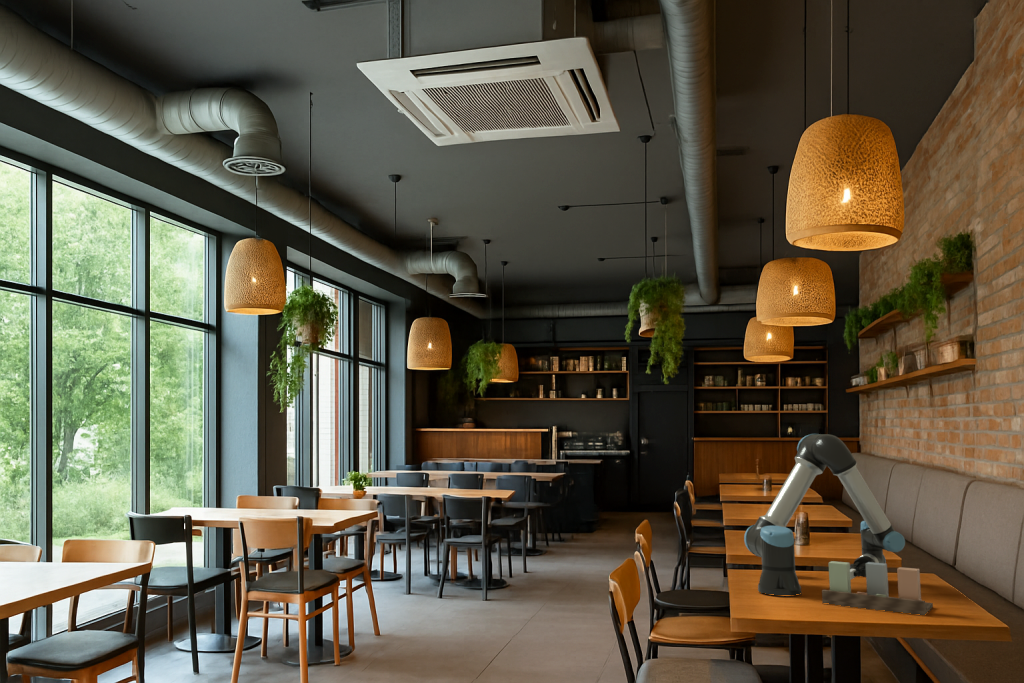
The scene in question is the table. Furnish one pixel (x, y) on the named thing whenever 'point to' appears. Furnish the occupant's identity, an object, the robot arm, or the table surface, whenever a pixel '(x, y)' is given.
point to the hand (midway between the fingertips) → (848, 575)
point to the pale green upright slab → (839, 576)
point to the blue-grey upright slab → (877, 578)
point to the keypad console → (876, 602)
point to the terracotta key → (909, 583)
